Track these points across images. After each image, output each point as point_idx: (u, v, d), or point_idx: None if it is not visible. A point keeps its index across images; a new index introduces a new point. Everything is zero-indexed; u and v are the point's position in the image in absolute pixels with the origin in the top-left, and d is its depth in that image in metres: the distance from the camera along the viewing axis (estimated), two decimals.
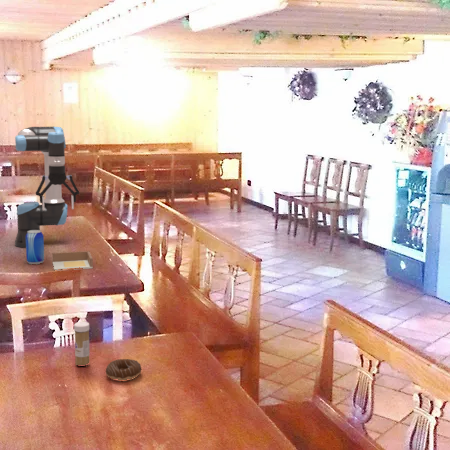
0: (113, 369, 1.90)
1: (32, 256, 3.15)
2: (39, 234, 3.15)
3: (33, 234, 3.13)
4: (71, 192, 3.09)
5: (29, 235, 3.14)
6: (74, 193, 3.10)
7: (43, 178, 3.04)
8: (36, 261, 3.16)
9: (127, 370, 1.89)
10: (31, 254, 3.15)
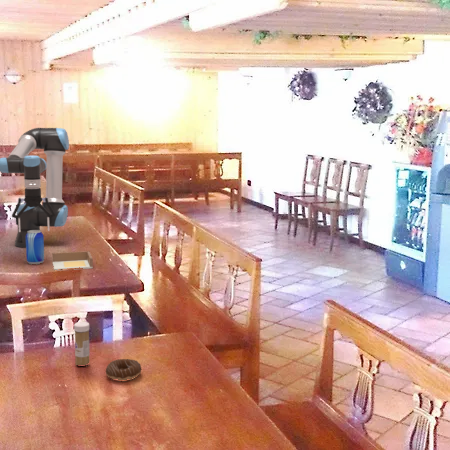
0: (113, 369, 1.90)
1: (32, 256, 3.15)
2: (39, 234, 3.15)
3: (33, 234, 3.13)
4: (47, 214, 3.16)
5: (29, 235, 3.14)
6: (50, 215, 3.16)
7: (19, 201, 3.10)
8: (36, 261, 3.16)
9: (127, 370, 1.89)
10: (31, 254, 3.15)
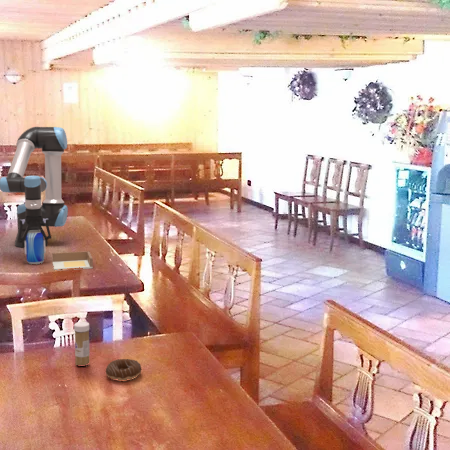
0: (113, 369, 1.90)
1: (32, 256, 3.15)
2: (39, 234, 3.15)
3: (33, 234, 3.13)
4: None
5: (29, 235, 3.14)
6: (46, 238, 3.18)
7: (20, 222, 3.13)
8: (36, 261, 3.16)
9: (127, 370, 1.89)
10: (31, 254, 3.15)
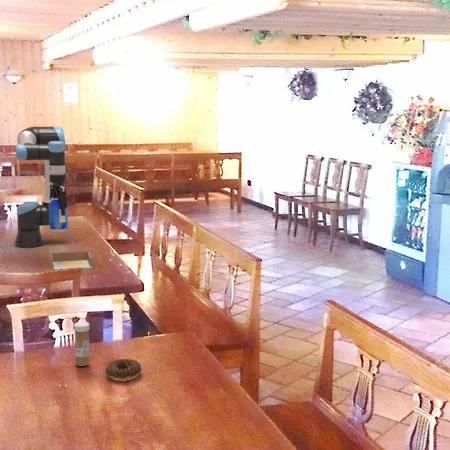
0: (113, 369, 1.90)
1: None
2: (54, 201, 3.07)
3: (50, 200, 3.09)
4: (59, 204, 3.07)
5: None
6: (60, 206, 3.06)
7: (50, 187, 3.14)
8: (50, 228, 3.10)
9: (127, 370, 1.89)
10: None
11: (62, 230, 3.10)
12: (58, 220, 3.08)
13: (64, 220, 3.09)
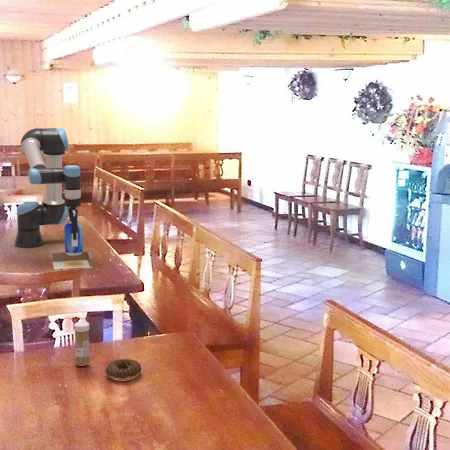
0: (113, 369, 1.90)
1: None
2: (68, 225, 3.09)
3: (66, 223, 3.11)
4: None
5: None
6: (72, 231, 3.07)
7: (69, 210, 3.16)
8: (65, 251, 3.13)
9: (127, 370, 1.89)
10: None
11: (75, 254, 3.11)
12: (70, 244, 3.09)
13: (76, 244, 3.09)
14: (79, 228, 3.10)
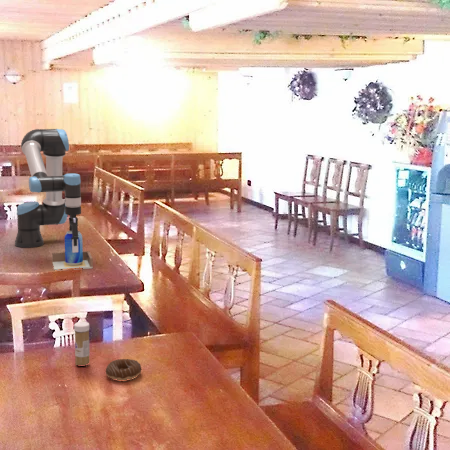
0: (113, 369, 1.90)
1: None
2: (68, 235, 3.10)
3: (66, 233, 3.12)
4: (72, 235, 3.06)
5: None
6: (72, 237, 3.05)
7: None
8: (65, 261, 3.14)
9: (127, 370, 1.89)
10: None
11: (75, 264, 3.12)
12: (71, 254, 3.11)
13: (77, 250, 3.08)
14: (79, 238, 3.11)
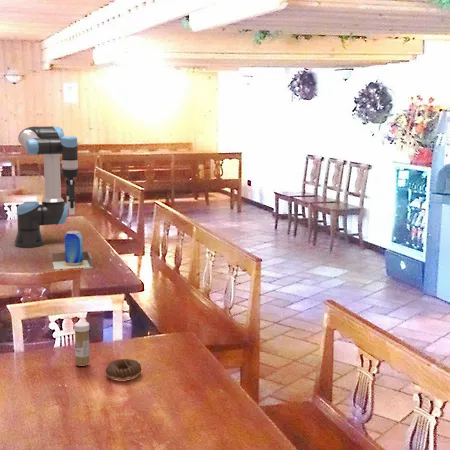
0: (113, 369, 1.90)
1: None
2: (68, 235, 3.10)
3: (66, 233, 3.12)
4: None
5: None
6: (69, 199, 3.07)
7: None
8: (65, 261, 3.14)
9: (127, 370, 1.89)
10: None
11: (75, 264, 3.12)
12: (71, 254, 3.11)
13: (73, 212, 3.10)
14: (79, 238, 3.11)
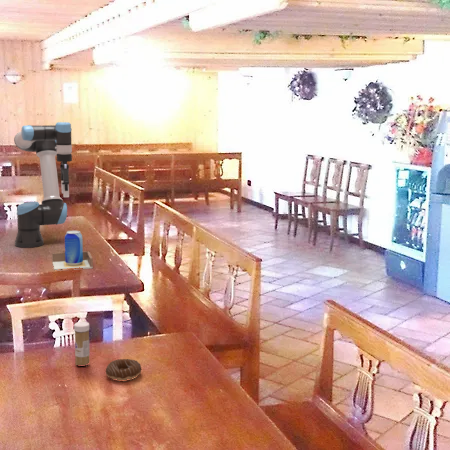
0: (113, 370, 1.90)
1: None
2: (68, 235, 3.10)
3: (66, 233, 3.12)
4: (63, 180, 3.21)
5: None
6: (63, 182, 3.20)
7: (61, 164, 3.31)
8: (65, 261, 3.14)
9: (127, 370, 1.89)
10: None
11: (75, 264, 3.12)
12: (71, 254, 3.11)
13: (68, 195, 3.22)
14: (79, 238, 3.11)
